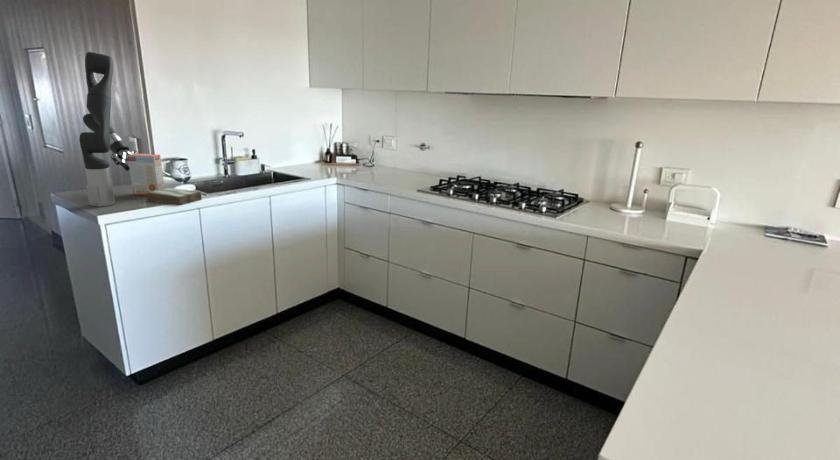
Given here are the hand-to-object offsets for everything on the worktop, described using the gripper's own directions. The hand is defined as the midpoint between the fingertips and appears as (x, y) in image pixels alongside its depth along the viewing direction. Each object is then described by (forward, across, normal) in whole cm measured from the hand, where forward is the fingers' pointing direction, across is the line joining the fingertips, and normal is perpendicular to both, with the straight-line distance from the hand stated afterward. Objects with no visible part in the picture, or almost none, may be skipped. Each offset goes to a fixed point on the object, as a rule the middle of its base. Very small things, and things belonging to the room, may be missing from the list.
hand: (136, 168), depth 234 cm
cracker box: (+14, 0, +5) cm, 15 cm away
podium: (+27, -3, -9) cm, 29 cm away
